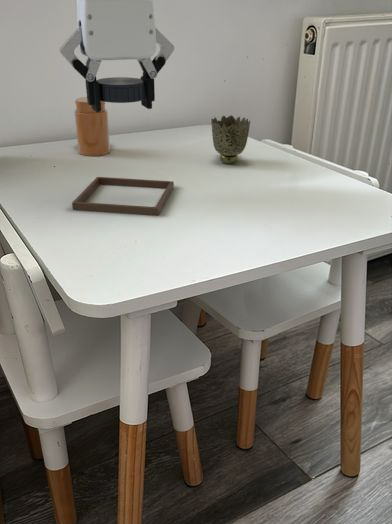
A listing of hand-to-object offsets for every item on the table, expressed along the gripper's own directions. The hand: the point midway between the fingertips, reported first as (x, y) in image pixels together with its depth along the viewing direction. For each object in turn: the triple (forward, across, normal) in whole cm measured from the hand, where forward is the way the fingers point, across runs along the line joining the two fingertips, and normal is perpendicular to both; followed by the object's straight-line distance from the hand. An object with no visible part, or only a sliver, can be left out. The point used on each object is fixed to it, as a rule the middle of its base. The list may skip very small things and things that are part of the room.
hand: (121, 107), depth 81 cm
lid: (-3, 0, 0) cm, 3 cm away
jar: (+14, -2, -32) cm, 35 cm away
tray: (+14, 0, 0) cm, 14 cm away
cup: (+15, -26, -17) cm, 34 cm away
